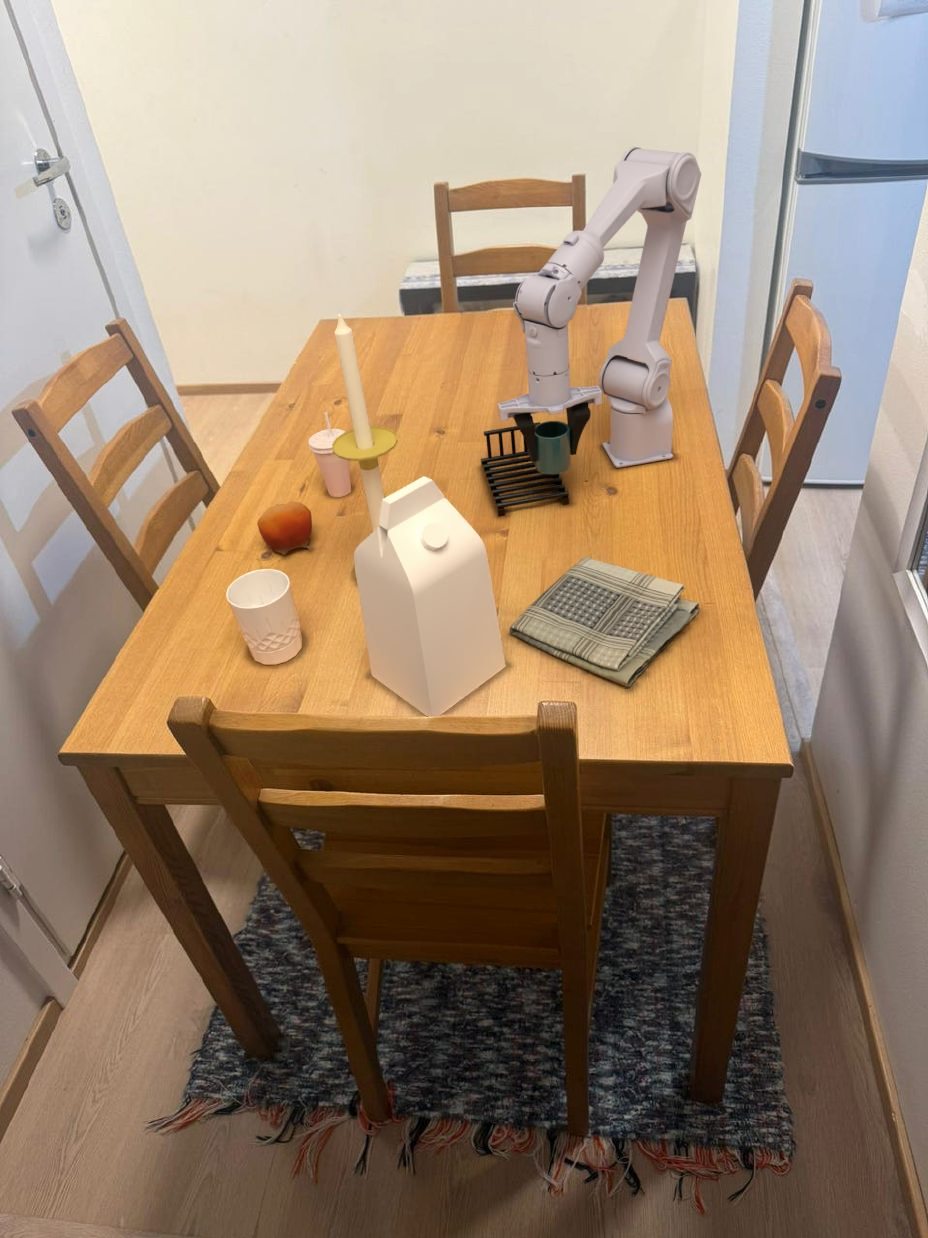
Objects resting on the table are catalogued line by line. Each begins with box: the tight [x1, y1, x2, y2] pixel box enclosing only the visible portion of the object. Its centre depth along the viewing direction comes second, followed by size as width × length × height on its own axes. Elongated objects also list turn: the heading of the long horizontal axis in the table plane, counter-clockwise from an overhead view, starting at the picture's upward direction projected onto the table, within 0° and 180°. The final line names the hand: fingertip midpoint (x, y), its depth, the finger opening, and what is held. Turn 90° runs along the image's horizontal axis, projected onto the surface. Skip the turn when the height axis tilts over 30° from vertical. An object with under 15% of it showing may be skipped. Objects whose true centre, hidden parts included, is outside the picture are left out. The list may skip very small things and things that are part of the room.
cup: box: [534, 420, 572, 475], centre depth 127 cm, size 5×5×6 cm
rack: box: [480, 421, 570, 517], centre depth 137 cm, size 11×15×7 cm
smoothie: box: [307, 411, 352, 498], centre depth 139 cm, size 6×6×14 cm
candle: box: [332, 309, 398, 581], centre depth 113 cm, size 10×10×38 cm
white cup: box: [225, 568, 303, 666], centre depth 111 cm, size 8×8×10 cm
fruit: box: [256, 501, 313, 556], centre depth 131 cm, size 8×8×8 cm
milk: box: [353, 475, 507, 717], centre depth 100 cm, size 12×12×26 cm
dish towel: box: [509, 556, 700, 688], centre depth 110 cm, size 19×18×3 cm
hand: (552, 455), depth 128 cm, fingers closed on cup, 5 cm apart
